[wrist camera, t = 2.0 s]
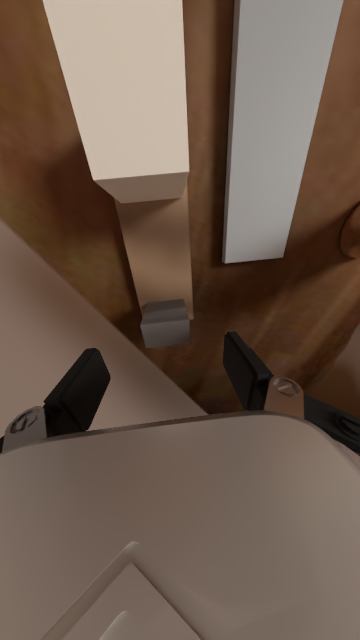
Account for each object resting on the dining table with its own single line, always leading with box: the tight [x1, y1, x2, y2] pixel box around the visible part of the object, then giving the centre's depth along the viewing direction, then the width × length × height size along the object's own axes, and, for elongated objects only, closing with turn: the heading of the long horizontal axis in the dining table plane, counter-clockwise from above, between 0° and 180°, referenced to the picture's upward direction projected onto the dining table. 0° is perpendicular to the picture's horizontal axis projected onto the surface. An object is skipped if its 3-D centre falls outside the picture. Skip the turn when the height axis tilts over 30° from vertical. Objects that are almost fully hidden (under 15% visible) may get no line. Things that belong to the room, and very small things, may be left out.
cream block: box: [43, 0, 189, 204], centre depth 8 cm, size 5×5×5 cm
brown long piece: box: [114, 181, 193, 348], centre depth 11 cm, size 20×6×6 cm, turn 5°
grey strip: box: [222, 0, 343, 263], centre depth 8 cm, size 20×6×6 cm, turn 5°
